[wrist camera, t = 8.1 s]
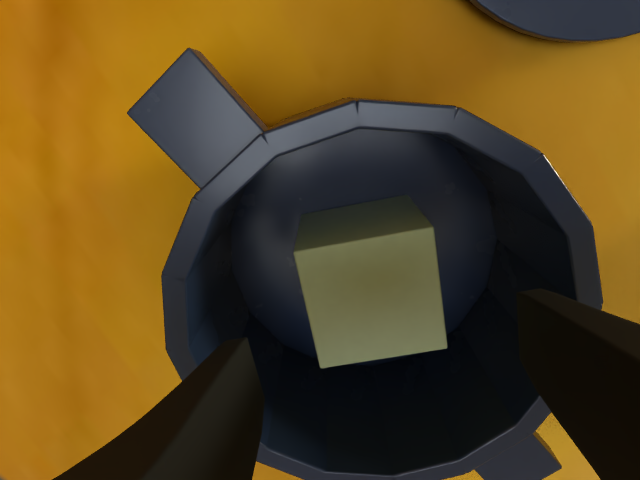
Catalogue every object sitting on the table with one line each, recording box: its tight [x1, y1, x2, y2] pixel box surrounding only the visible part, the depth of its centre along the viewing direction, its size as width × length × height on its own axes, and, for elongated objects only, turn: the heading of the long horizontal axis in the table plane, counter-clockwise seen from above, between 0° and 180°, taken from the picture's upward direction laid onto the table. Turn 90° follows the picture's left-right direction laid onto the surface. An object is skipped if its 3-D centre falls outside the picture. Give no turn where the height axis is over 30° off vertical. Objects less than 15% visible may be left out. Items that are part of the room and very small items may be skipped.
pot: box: [127, 48, 603, 480], centre depth 15 cm, size 12×18×6 cm
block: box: [293, 195, 447, 368], centre depth 16 cm, size 4×4×4 cm
